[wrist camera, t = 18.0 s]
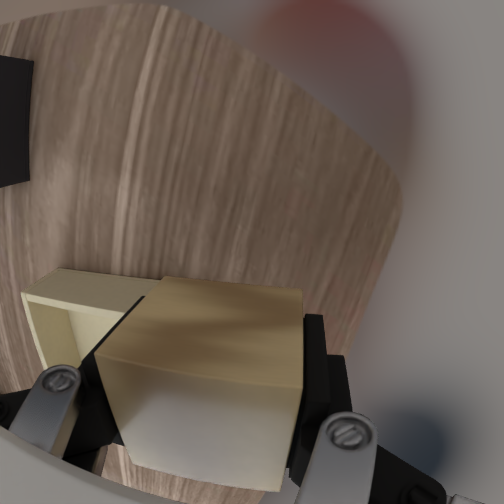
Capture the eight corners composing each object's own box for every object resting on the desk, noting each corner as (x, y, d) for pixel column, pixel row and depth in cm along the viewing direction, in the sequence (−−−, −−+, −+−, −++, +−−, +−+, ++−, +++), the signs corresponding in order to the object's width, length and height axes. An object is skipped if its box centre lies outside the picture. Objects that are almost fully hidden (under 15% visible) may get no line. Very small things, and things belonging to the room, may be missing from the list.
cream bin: (195, 283, 22) (171, 319, 17) (202, 407, 26) (188, 449, 21) (58, 267, 23) (19, 291, 18) (86, 380, 27) (62, 412, 22)
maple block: (302, 288, 10) (302, 387, 6) (288, 393, 11) (280, 492, 7) (164, 275, 10) (92, 352, 6) (175, 378, 12) (131, 463, 7)
